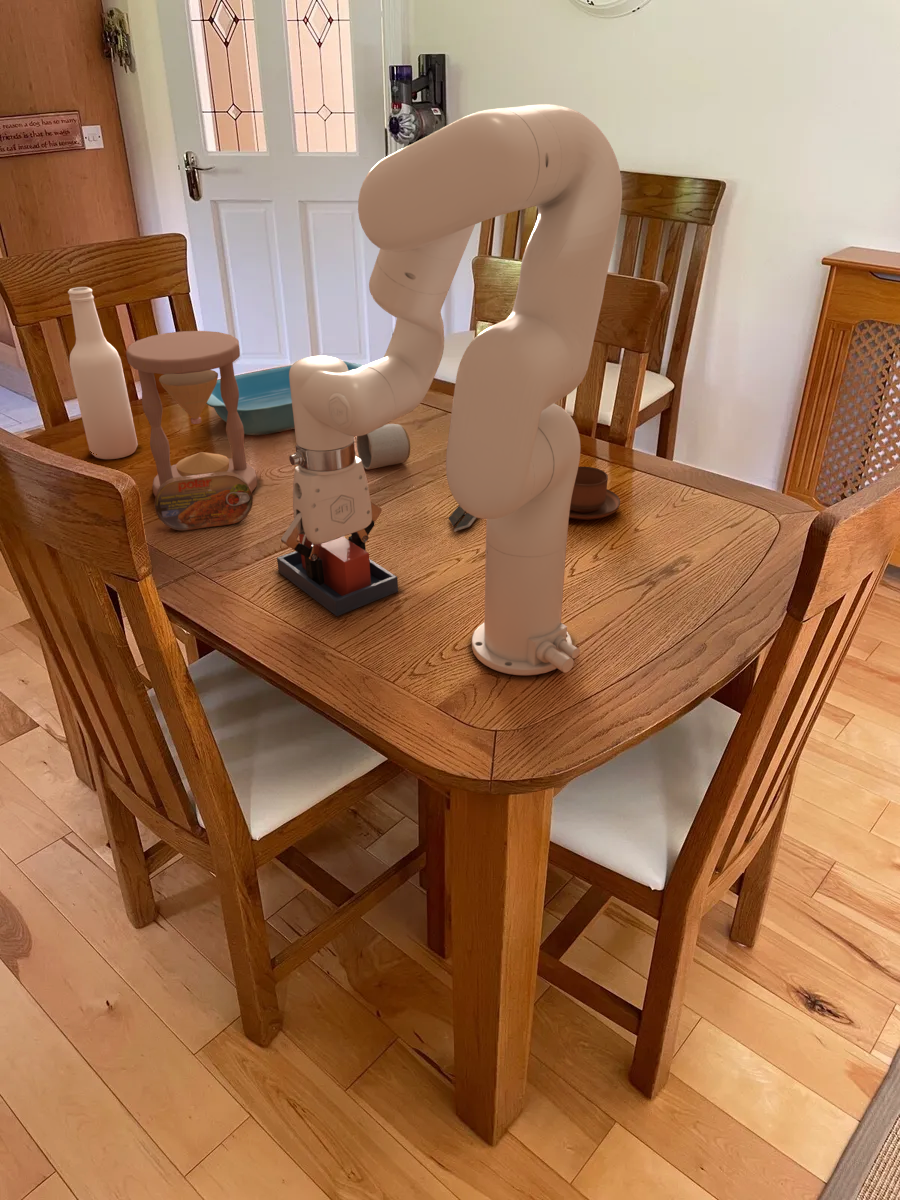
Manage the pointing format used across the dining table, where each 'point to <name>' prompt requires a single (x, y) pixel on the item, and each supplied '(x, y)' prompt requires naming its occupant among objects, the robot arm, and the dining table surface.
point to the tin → (203, 500)
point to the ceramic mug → (384, 446)
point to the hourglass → (190, 396)
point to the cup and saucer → (592, 495)
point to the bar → (343, 565)
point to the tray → (330, 599)
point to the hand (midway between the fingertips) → (337, 571)
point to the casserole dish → (262, 400)
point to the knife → (465, 521)
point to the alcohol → (99, 383)
